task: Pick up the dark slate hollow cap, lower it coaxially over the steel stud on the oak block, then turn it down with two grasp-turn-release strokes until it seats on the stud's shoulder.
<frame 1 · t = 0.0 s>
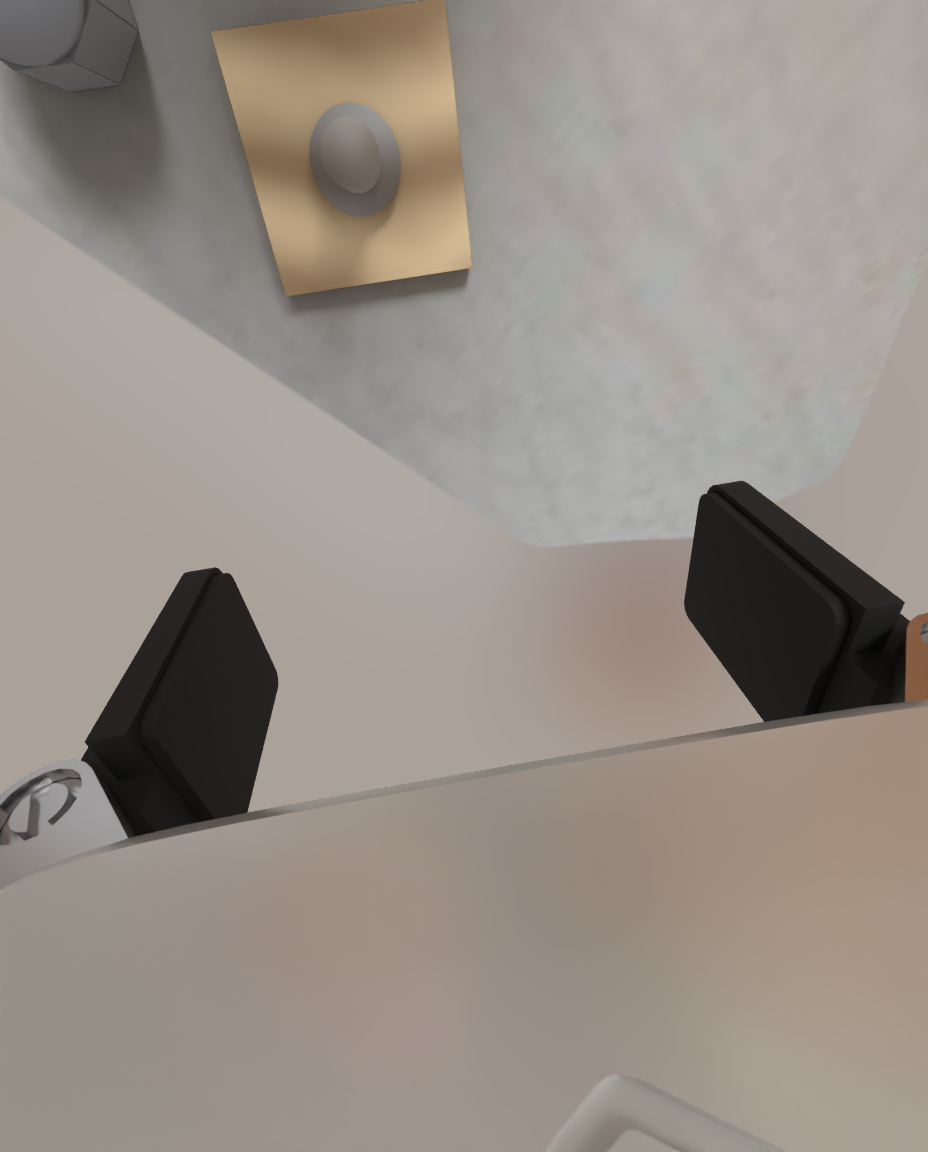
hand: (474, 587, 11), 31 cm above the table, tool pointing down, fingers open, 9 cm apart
stud block: (357, 165, 31), on the table
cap: (61, 2, 26), on the table
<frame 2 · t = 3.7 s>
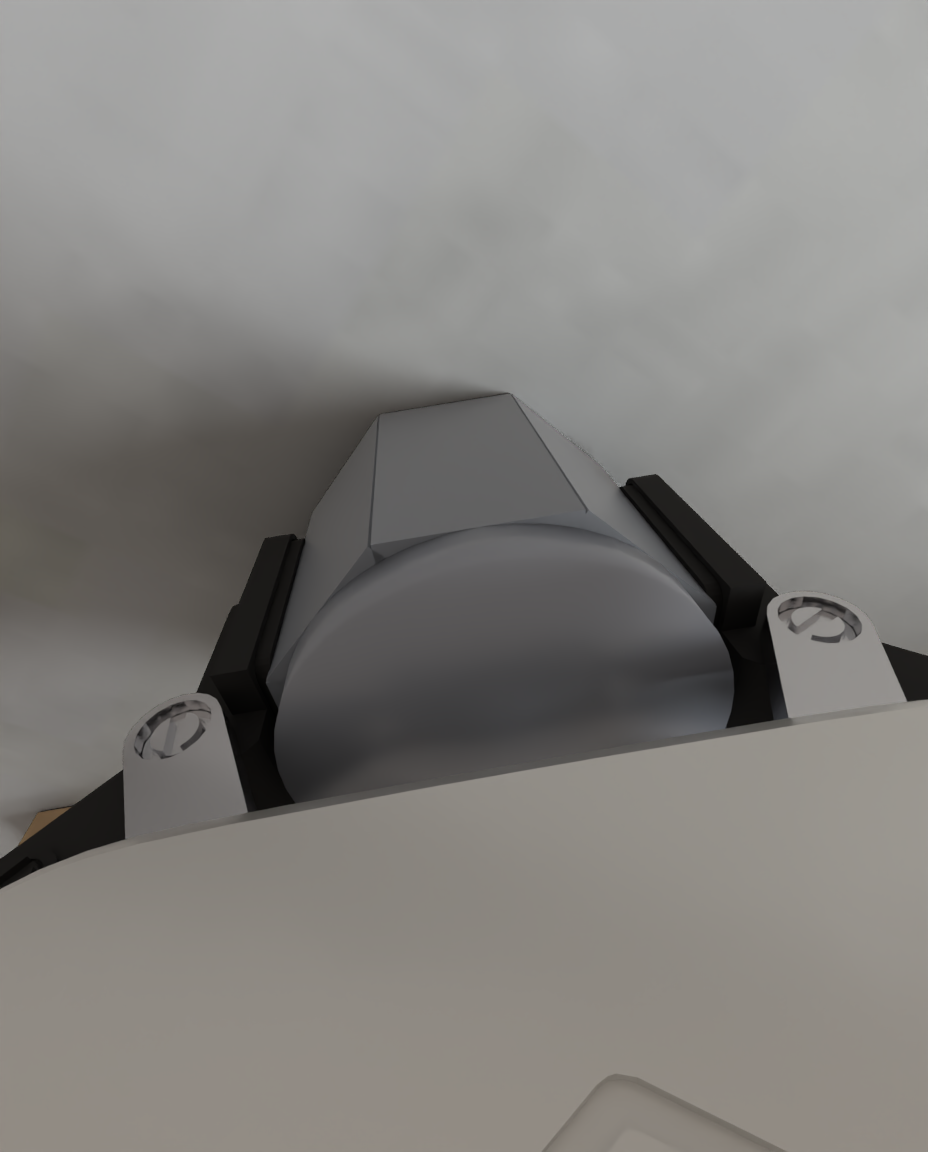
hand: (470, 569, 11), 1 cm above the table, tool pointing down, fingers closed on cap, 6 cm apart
stud block: (295, 874, 19), on the table
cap: (464, 541, 12), on the table, touching gripper
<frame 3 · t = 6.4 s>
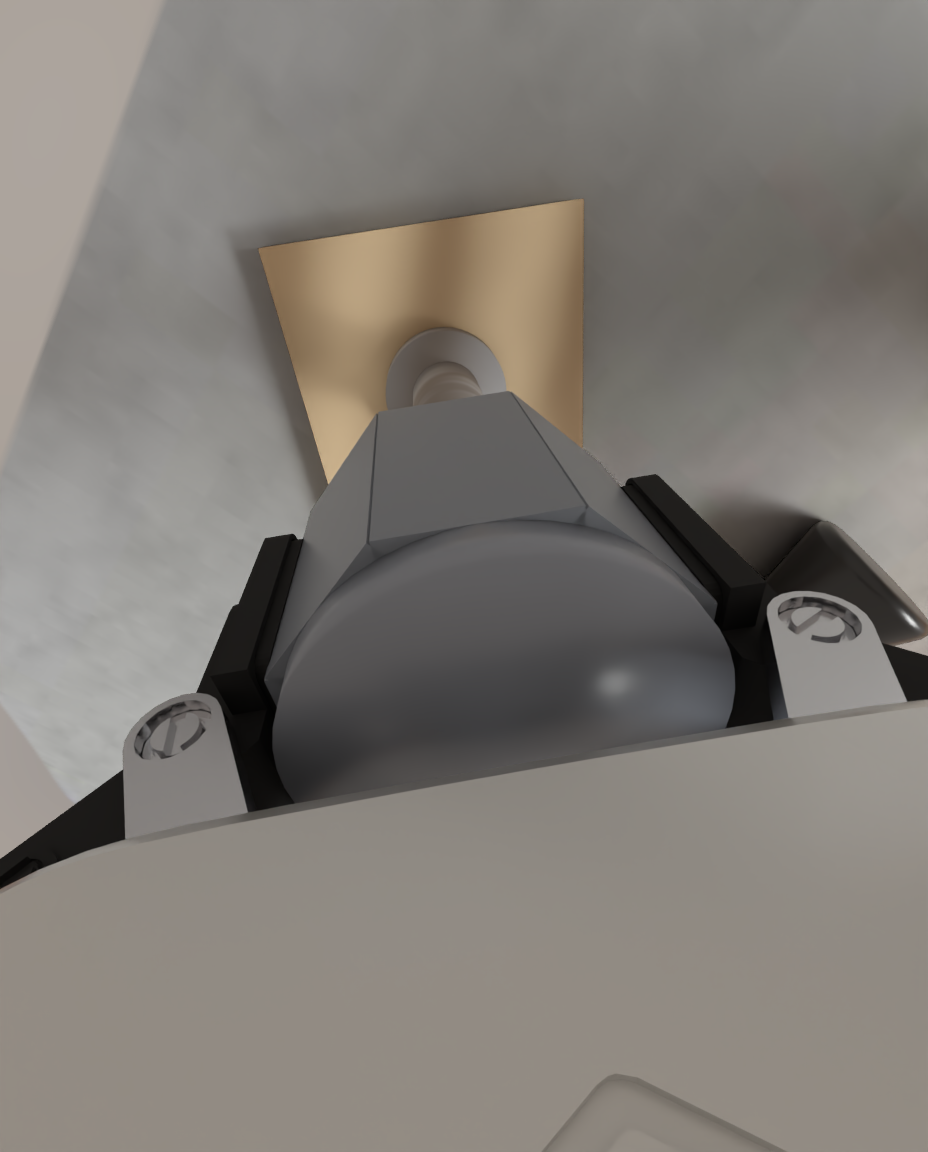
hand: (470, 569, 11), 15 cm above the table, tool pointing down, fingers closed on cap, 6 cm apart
stud block: (443, 383, 24), on the table
coffee pot: (719, 542, 31), on the table
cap: (464, 539, 12), point 14 cm above the table, touching gripper
when the fingers open (3 cm above the table, at t = 9.2 s): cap stays where it is, resting on stud block.
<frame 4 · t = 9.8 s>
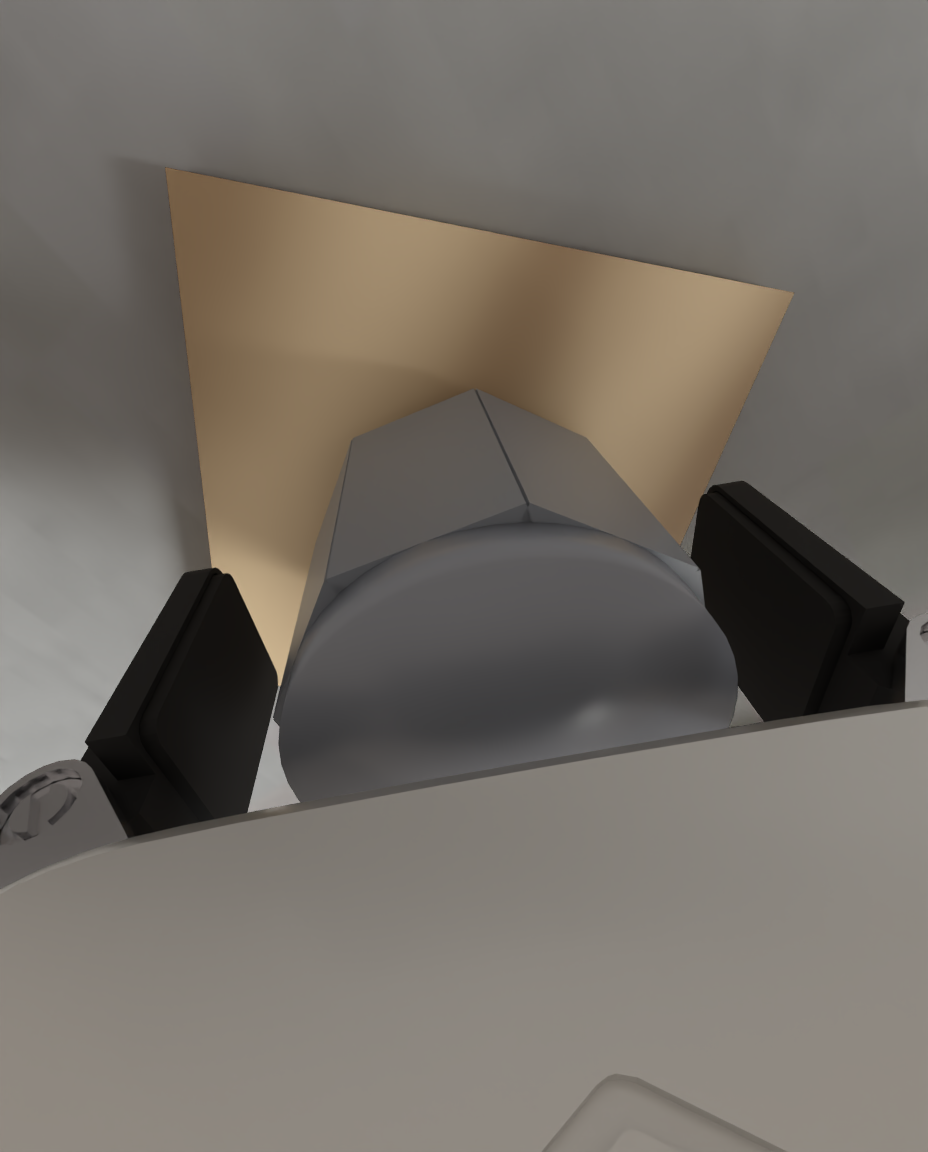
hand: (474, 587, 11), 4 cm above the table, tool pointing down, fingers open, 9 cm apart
stud block: (457, 499, 14), on the table
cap: (467, 541, 12), point 2 cm above the table, touching stud block
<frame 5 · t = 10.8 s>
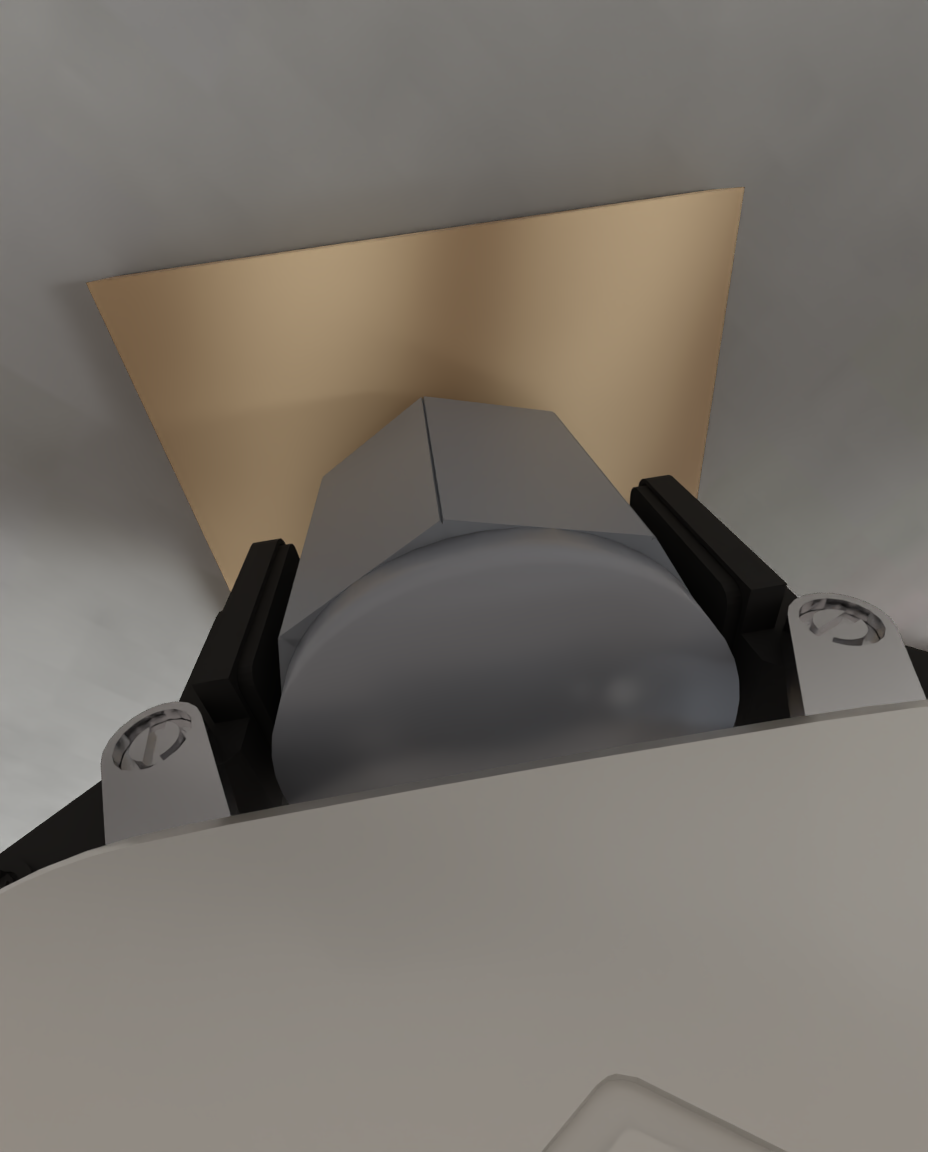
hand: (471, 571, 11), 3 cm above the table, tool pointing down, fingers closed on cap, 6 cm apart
stud block: (455, 501, 14), on the table
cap: (465, 543, 12), point 2 cm above the table, touching gripper, stud block
when the fingers open (3 cm above the table, at t = 12.9 s): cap stays where it is, resting on stud block.
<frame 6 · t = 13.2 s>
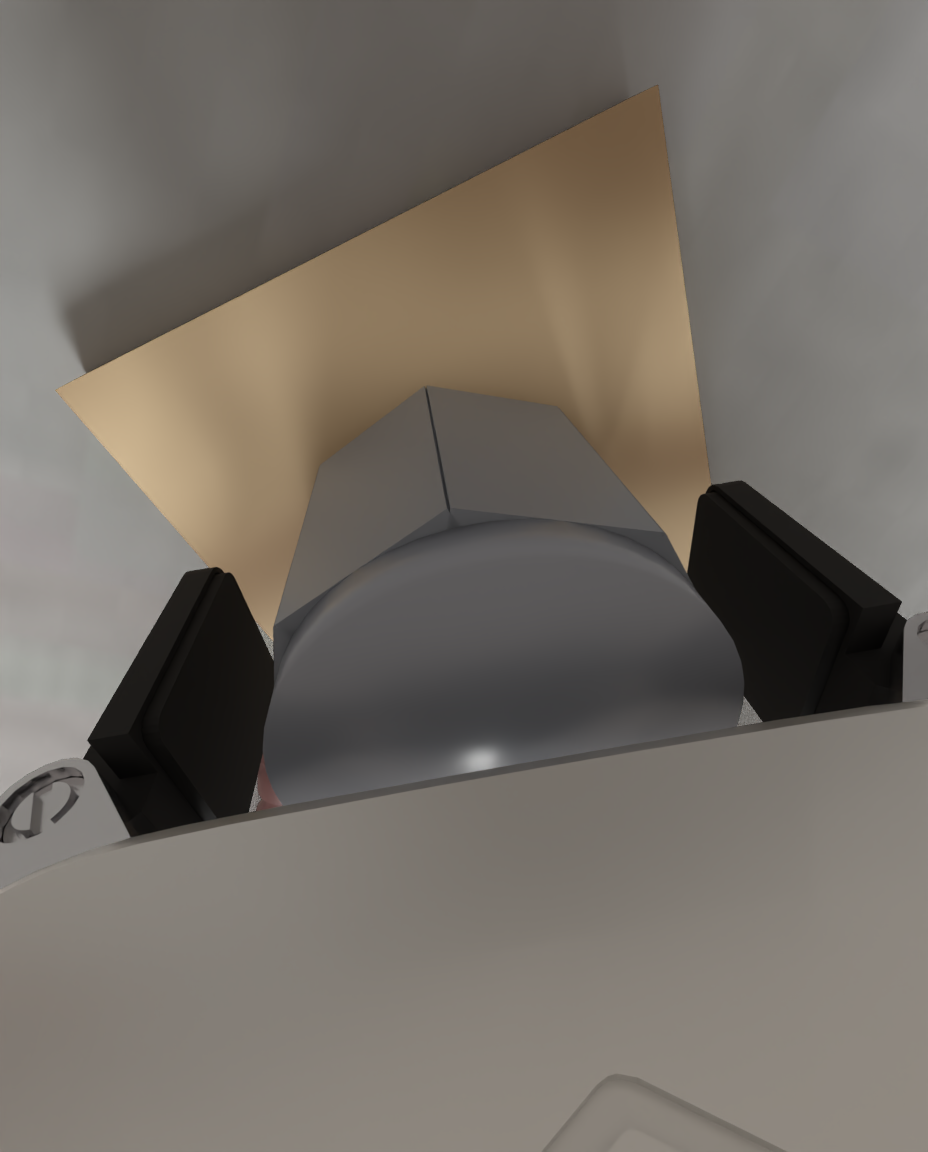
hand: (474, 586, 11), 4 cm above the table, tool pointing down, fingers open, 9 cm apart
stud block: (454, 497, 14), on the table
coffee pot: (337, 837, 23), on the table
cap: (463, 538, 12), point 2 cm above the table, touching stud block
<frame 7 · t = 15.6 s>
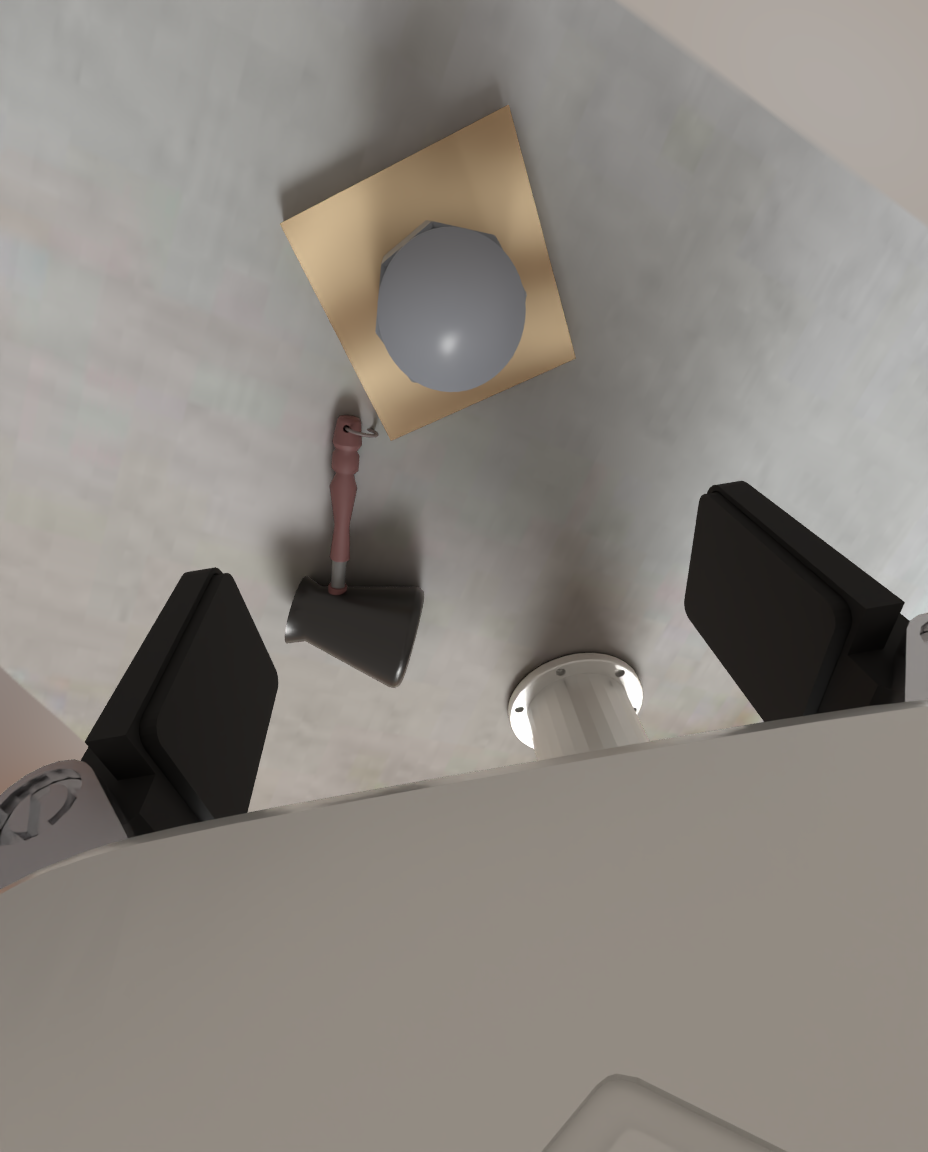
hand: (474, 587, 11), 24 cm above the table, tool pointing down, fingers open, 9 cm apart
stud block: (439, 294, 29), on the table
coffee pot: (371, 540, 38), on the table
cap: (442, 298, 27), point 2 cm above the table, touching stud block
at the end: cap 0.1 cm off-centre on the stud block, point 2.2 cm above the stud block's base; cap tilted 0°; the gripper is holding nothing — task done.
